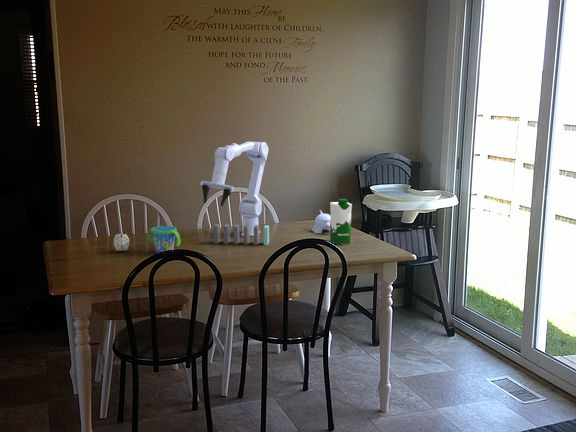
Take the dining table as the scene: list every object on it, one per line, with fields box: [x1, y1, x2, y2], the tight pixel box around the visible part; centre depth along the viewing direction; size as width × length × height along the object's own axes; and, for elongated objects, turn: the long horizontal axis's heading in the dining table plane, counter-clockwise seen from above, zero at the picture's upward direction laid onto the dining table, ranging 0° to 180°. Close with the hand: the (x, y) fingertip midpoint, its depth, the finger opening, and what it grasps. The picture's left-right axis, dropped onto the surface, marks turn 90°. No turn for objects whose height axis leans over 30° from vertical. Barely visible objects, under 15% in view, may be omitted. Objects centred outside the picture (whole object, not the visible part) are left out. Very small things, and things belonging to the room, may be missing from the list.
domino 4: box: [243, 225, 250, 245], centre depth 280 cm, size 2×5×8 cm, turn 173°
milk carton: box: [329, 198, 353, 245], centre depth 281 cm, size 9×9×20 cm
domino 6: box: [263, 224, 270, 246], centre depth 278 cm, size 2×5×8 cm, turn 173°
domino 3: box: [233, 223, 241, 245], centre depth 280 cm, size 2×5×8 cm, turn 173°
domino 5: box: [253, 224, 260, 246], centre depth 279 cm, size 2×5×8 cm, turn 173°
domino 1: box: [213, 223, 221, 245], centre depth 281 cm, size 2×5×8 cm, turn 173°
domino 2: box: [223, 223, 231, 245], centre depth 281 cm, size 2×5×8 cm, turn 173°
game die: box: [110, 232, 133, 253], centre depth 264 cm, size 9×8×10 cm
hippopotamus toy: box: [311, 209, 331, 234], centre depth 304 cm, size 11×15×10 cm
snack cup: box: [147, 225, 182, 254], centre depth 264 cm, size 16×10×10 cm
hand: (213, 204), depth 271 cm, fingers open, 7 cm apart
